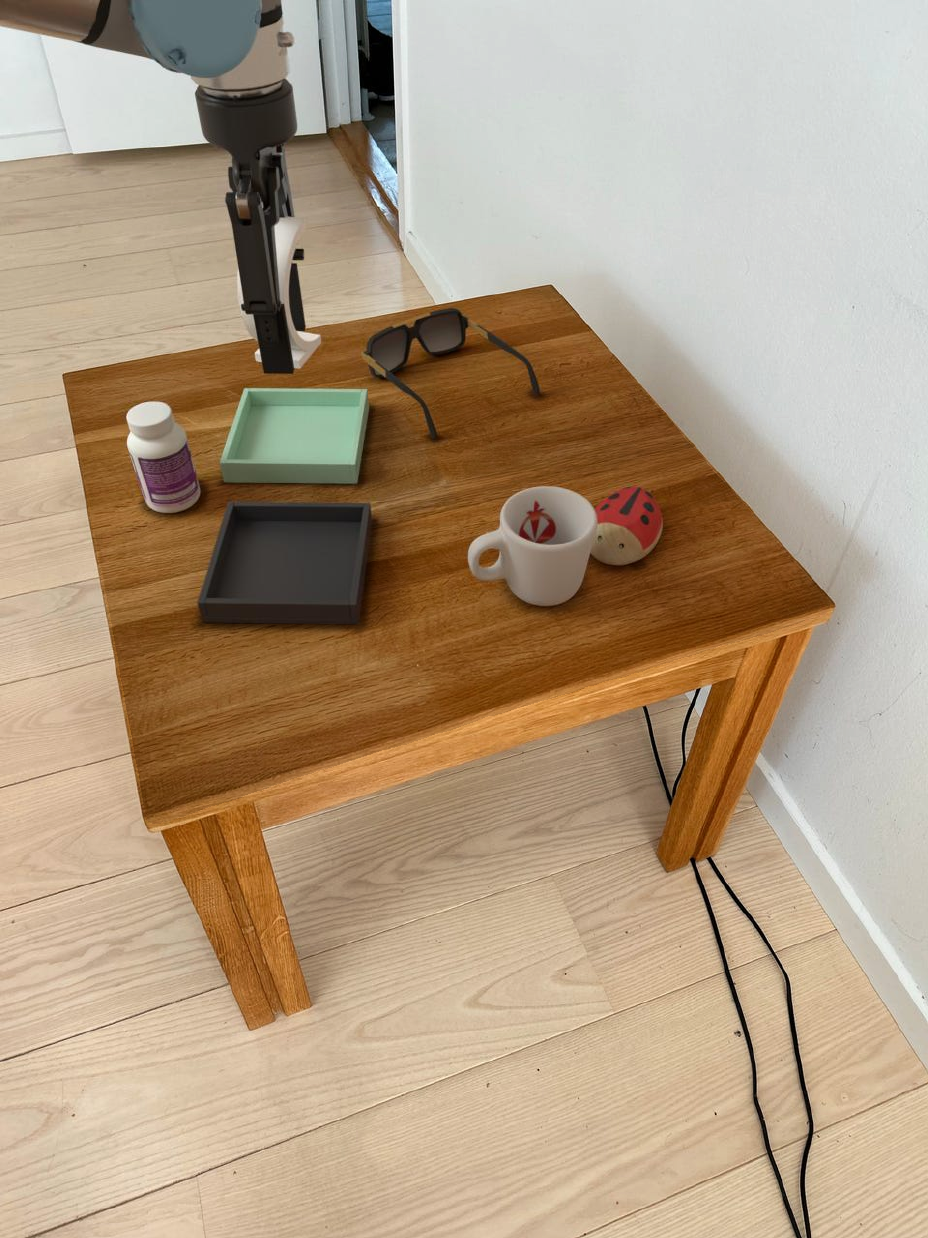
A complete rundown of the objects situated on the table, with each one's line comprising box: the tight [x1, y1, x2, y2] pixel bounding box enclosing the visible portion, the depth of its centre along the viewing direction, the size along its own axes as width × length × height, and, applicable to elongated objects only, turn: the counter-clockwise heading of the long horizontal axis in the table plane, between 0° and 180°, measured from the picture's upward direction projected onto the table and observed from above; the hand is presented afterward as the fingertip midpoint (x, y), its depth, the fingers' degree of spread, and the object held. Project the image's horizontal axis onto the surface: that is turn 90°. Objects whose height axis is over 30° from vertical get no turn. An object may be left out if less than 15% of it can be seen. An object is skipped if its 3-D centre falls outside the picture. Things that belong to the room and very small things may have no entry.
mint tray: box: [219, 387, 370, 485], centre depth 95 cm, size 13×13×2 cm
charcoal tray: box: [196, 501, 373, 625], centre depth 82 cm, size 13×13×2 cm
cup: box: [467, 485, 597, 607], centre depth 78 cm, size 11×8×8 cm
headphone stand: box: [236, 216, 322, 370], centre depth 84 cm, size 5×6×12 cm
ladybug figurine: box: [590, 486, 664, 566], centre depth 85 cm, size 7×10×4 cm
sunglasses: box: [360, 307, 541, 439], centre depth 101 cm, size 14×15×5 cm
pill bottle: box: [126, 401, 202, 514], centre depth 86 cm, size 5×5×10 cm
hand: (285, 349), depth 88 cm, fingers closed on headphone stand, 7 cm apart
